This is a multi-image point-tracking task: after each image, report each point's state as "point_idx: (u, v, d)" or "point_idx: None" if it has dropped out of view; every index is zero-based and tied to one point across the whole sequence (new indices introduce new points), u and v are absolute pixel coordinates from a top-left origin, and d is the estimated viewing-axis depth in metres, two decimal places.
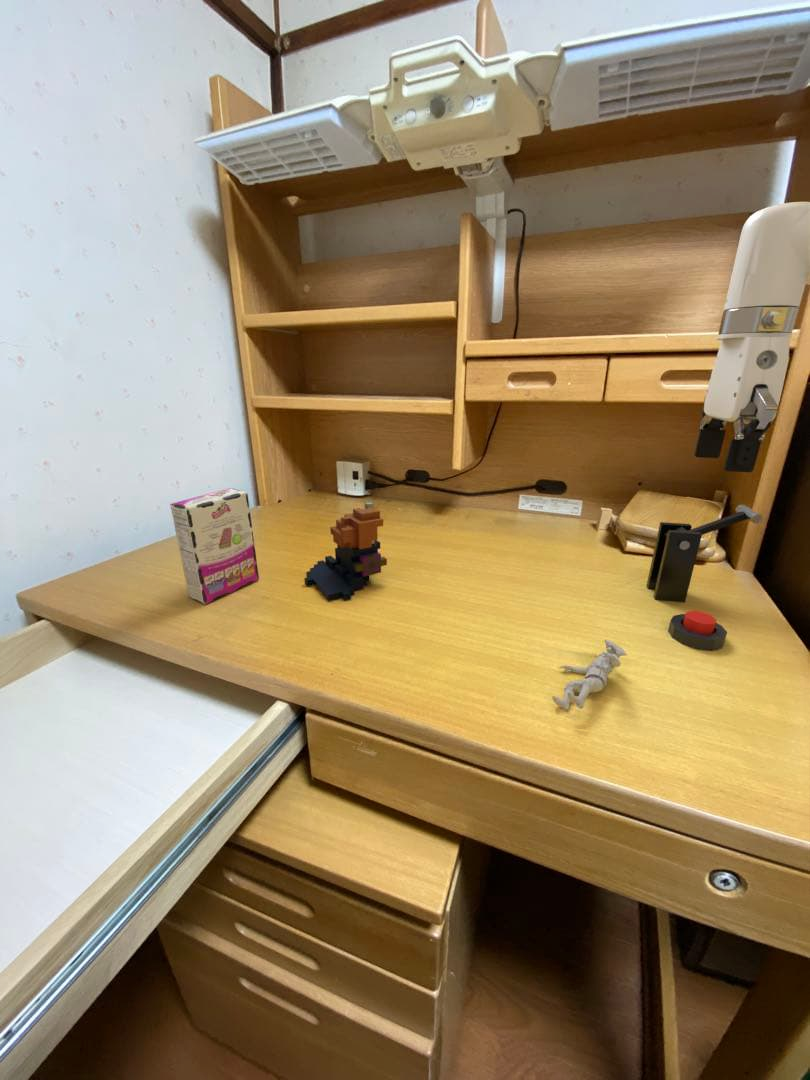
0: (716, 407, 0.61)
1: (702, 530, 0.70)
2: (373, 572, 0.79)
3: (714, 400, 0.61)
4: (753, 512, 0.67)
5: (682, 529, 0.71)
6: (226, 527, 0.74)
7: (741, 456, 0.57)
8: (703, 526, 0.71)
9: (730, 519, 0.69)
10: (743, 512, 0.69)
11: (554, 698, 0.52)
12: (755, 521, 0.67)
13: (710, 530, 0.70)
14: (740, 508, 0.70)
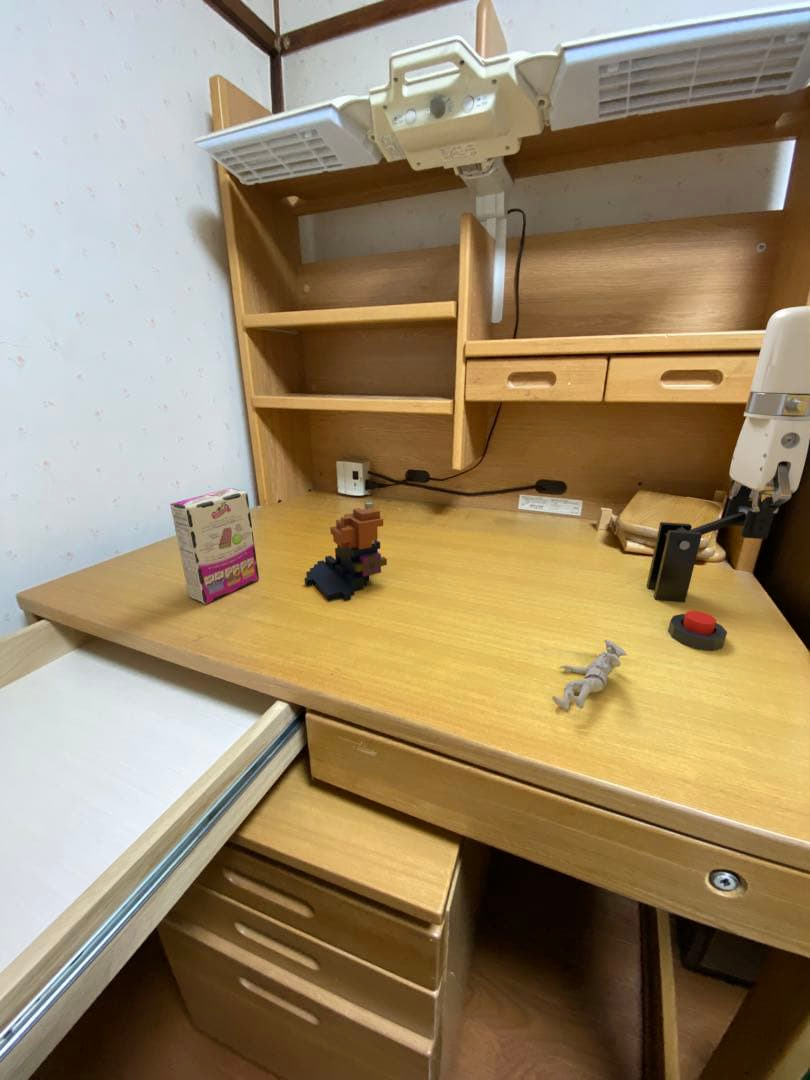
0: (742, 475, 0.67)
1: (702, 530, 0.70)
2: (373, 572, 0.79)
3: (740, 468, 0.68)
4: None
5: (682, 529, 0.71)
6: (226, 527, 0.74)
7: (757, 525, 0.65)
8: (703, 526, 0.71)
9: (730, 519, 0.69)
10: (743, 512, 0.69)
11: (554, 698, 0.52)
12: None
13: (710, 530, 0.70)
14: (740, 508, 0.70)
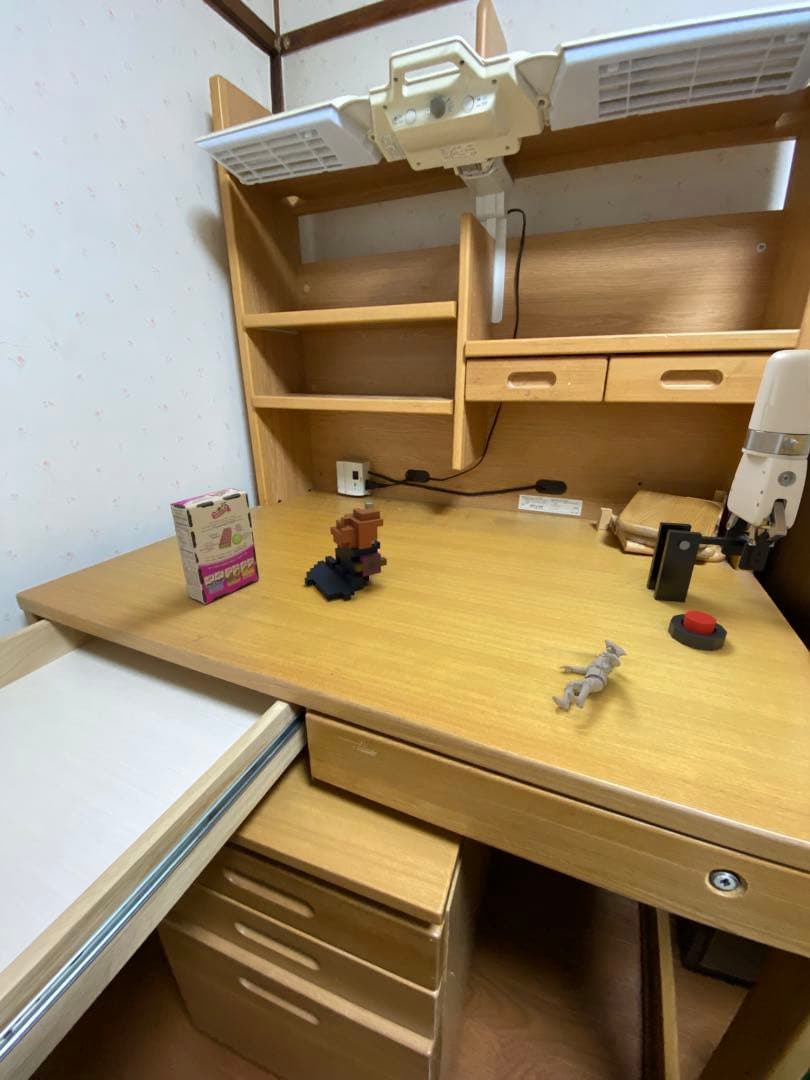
0: (740, 508, 0.69)
1: (703, 540, 0.71)
2: (373, 572, 0.79)
3: (738, 501, 0.69)
4: None
5: None
6: (226, 527, 0.74)
7: (754, 559, 0.67)
8: (705, 537, 0.71)
9: (732, 540, 0.70)
10: (745, 539, 0.70)
11: (554, 698, 0.52)
12: None
13: (710, 543, 0.71)
14: (743, 535, 0.71)
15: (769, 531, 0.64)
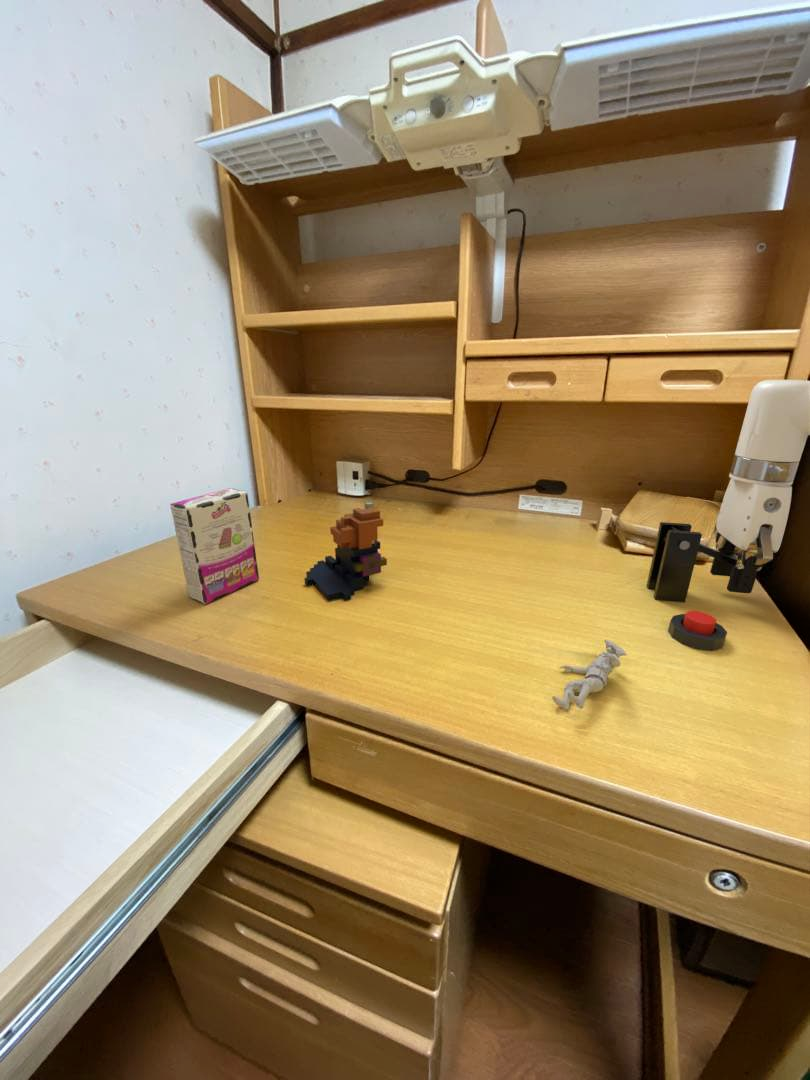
0: (727, 532, 0.70)
1: (700, 547, 0.71)
2: (373, 572, 0.79)
3: (726, 525, 0.71)
4: None
5: None
6: (226, 527, 0.74)
7: (742, 581, 0.68)
8: (703, 545, 0.72)
9: (725, 556, 0.71)
10: None
11: (554, 698, 0.52)
12: None
13: (705, 552, 0.71)
14: (734, 556, 0.73)
15: (756, 555, 0.65)
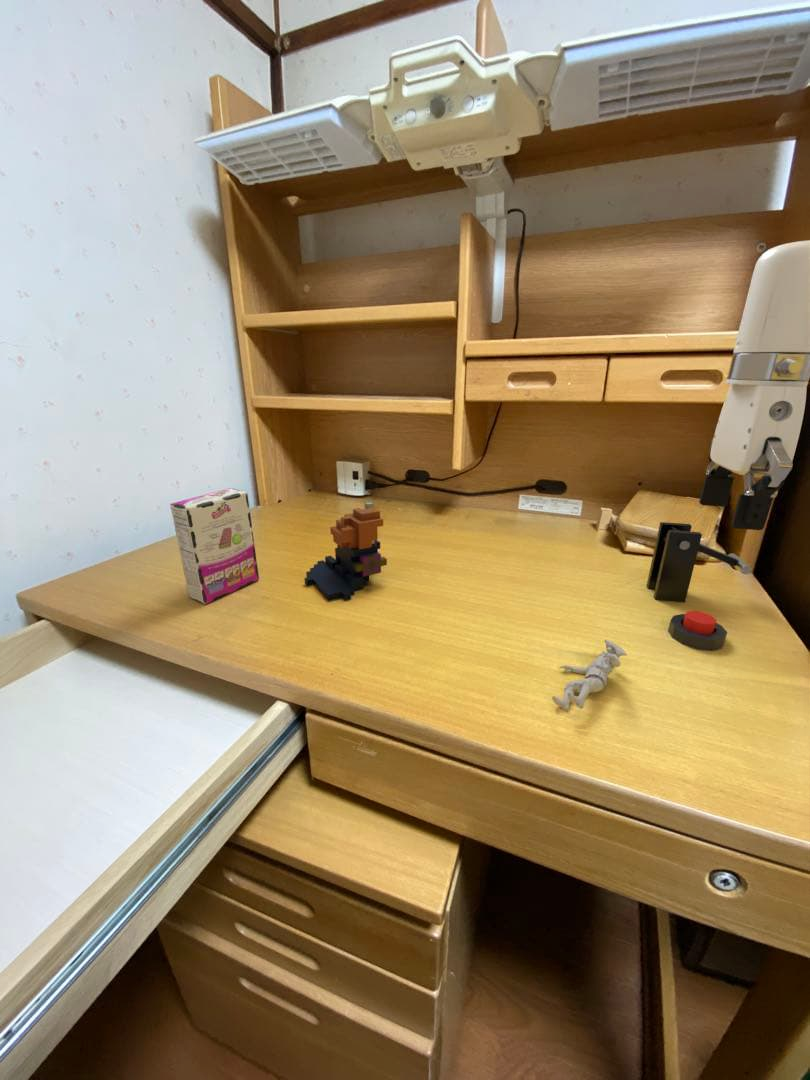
0: (724, 456, 0.56)
1: (700, 547, 0.71)
2: (373, 572, 0.79)
3: (722, 448, 0.56)
4: (747, 564, 0.70)
5: None
6: (226, 527, 0.74)
7: (751, 513, 0.52)
8: (703, 545, 0.72)
9: (725, 556, 0.71)
10: (737, 559, 0.71)
11: (554, 698, 0.52)
12: (743, 571, 0.69)
13: (705, 552, 0.71)
14: (734, 556, 0.73)
15: (769, 471, 0.49)
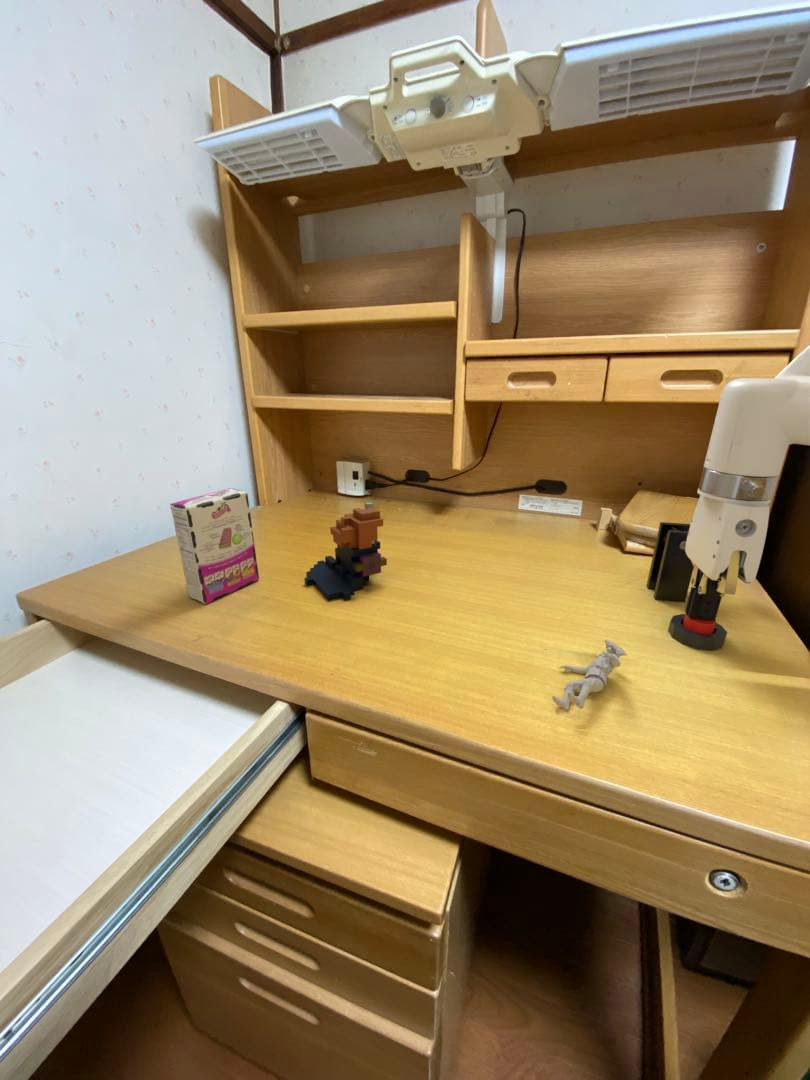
0: (696, 557, 0.60)
1: None
2: (373, 572, 0.79)
3: (695, 548, 0.60)
4: None
5: None
6: (226, 527, 0.74)
7: (704, 608, 0.60)
8: None
9: None
10: None
11: (554, 698, 0.52)
12: None
13: None
14: None
15: (718, 584, 0.57)
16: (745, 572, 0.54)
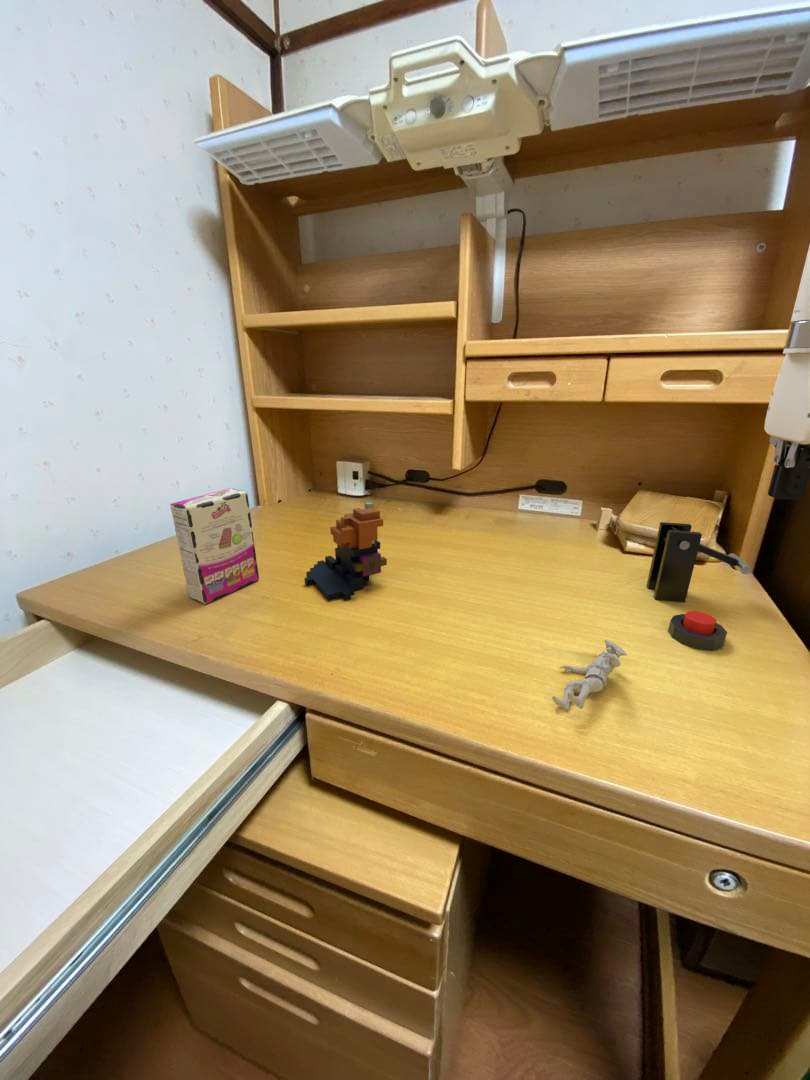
0: (783, 427, 0.55)
1: (700, 547, 0.71)
2: (373, 572, 0.79)
3: (779, 419, 0.56)
4: (747, 564, 0.70)
5: None
6: (225, 527, 0.74)
7: (792, 484, 0.56)
8: (703, 545, 0.72)
9: (725, 556, 0.71)
10: (737, 559, 0.71)
11: (554, 698, 0.52)
12: (743, 571, 0.69)
13: (705, 552, 0.71)
14: (734, 556, 0.73)
15: None
16: None
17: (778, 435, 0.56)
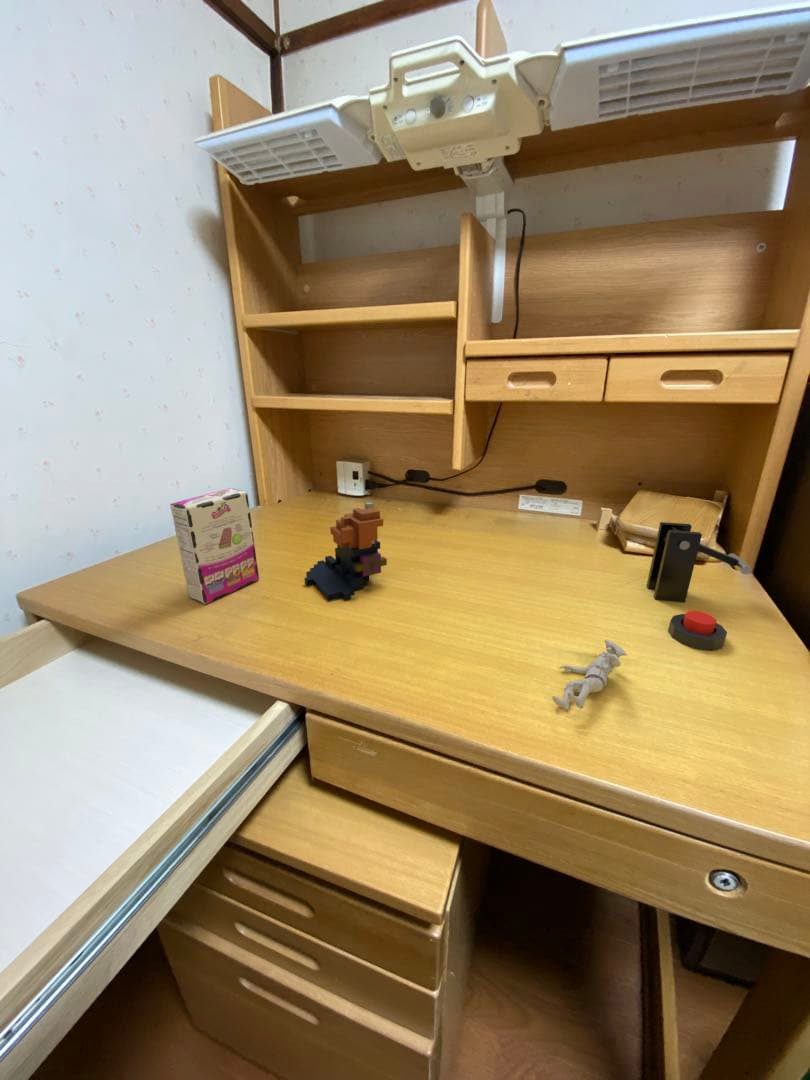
0: None
1: (700, 547, 0.71)
2: (373, 572, 0.79)
3: None
4: (747, 564, 0.70)
5: None
6: (225, 527, 0.74)
7: None
8: (703, 545, 0.72)
9: (725, 556, 0.71)
10: (737, 559, 0.71)
11: (554, 698, 0.52)
12: (743, 571, 0.69)
13: (705, 552, 0.71)
14: (734, 556, 0.73)
15: None
16: None
17: None
